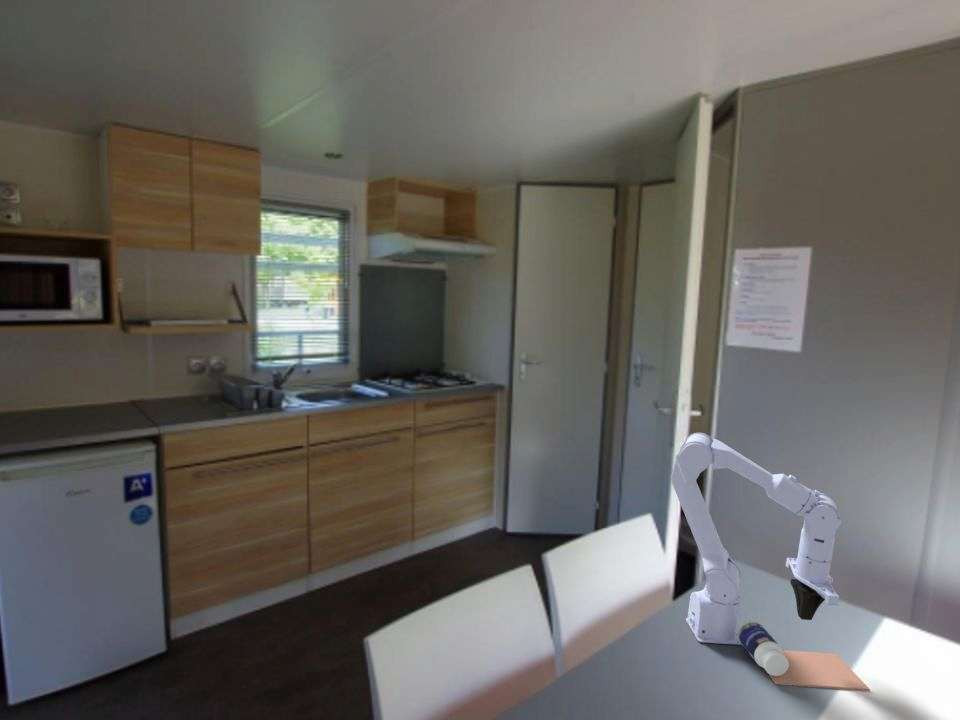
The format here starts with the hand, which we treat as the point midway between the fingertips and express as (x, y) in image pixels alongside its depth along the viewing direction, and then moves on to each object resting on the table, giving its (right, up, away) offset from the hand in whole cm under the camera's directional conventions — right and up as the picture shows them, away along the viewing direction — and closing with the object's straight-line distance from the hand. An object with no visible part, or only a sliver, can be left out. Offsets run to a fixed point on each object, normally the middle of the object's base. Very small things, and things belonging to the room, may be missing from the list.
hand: (804, 617), depth 109 cm
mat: (-1, -10, -2) cm, 10 cm away
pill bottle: (-9, -5, +4) cm, 11 cm away
